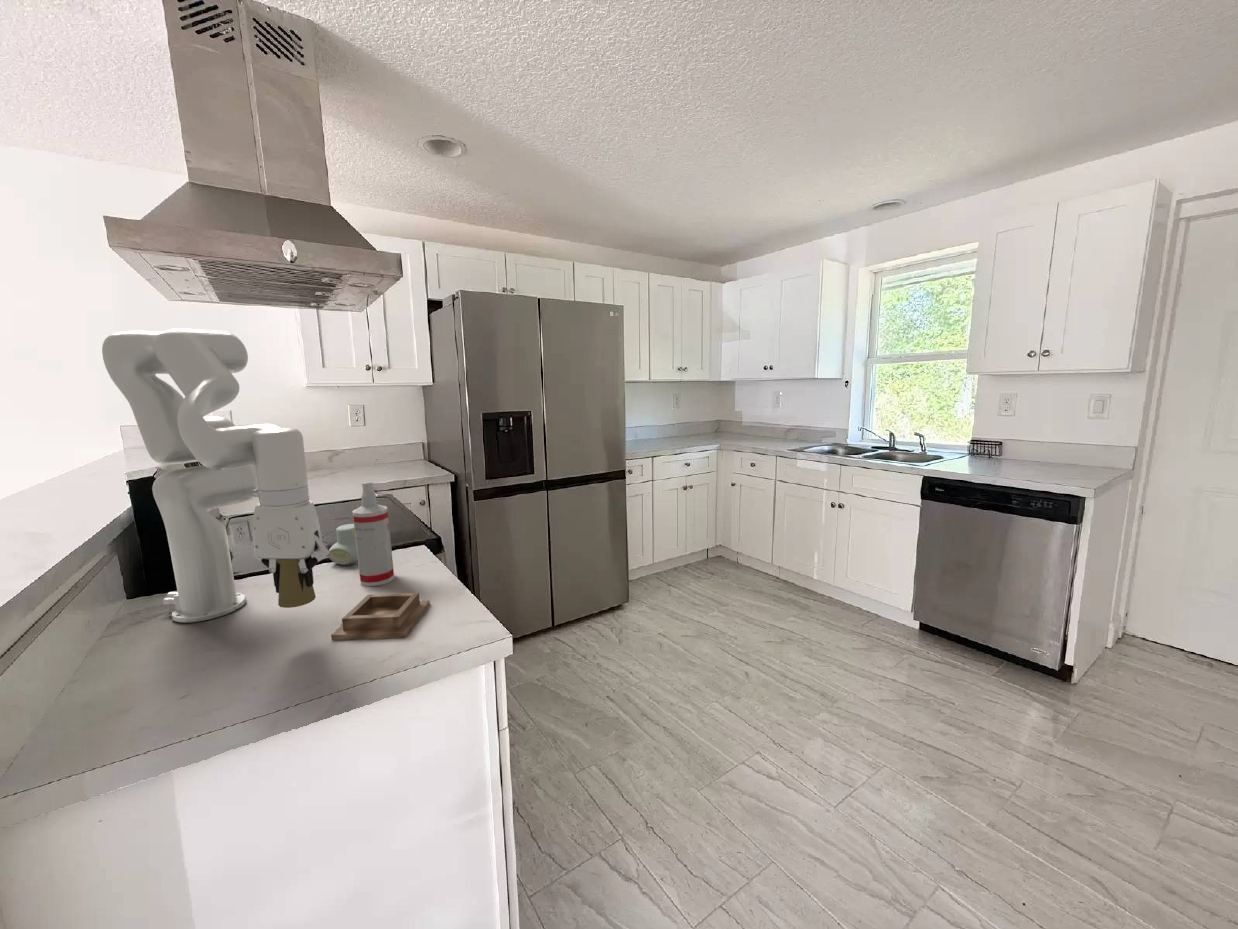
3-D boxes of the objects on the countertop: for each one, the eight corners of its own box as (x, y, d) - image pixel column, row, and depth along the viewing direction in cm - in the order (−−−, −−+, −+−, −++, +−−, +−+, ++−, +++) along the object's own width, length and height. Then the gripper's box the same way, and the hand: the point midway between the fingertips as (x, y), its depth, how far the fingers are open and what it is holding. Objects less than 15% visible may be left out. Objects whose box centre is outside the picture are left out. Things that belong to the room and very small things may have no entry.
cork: (297, 609, 90) (291, 552, 88) (269, 605, 91) (263, 549, 89) (323, 595, 96) (318, 541, 94) (296, 591, 97) (291, 538, 95)
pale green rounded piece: (323, 565, 134) (319, 530, 132) (347, 554, 142) (343, 521, 140) (357, 568, 131) (353, 532, 130) (379, 557, 139) (375, 523, 138)
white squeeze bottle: (353, 583, 121) (341, 484, 117) (378, 572, 128) (368, 478, 124) (376, 588, 118) (366, 486, 114) (401, 576, 125) (391, 480, 121)
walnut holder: (331, 639, 95) (329, 623, 94) (365, 606, 109) (363, 591, 108) (405, 637, 95) (403, 620, 95) (429, 604, 109) (428, 589, 109)
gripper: (222, 501, 86) (235, 599, 89) (319, 502, 87) (329, 599, 90) (251, 490, 93) (263, 581, 97) (341, 491, 94) (349, 581, 97)
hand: (294, 589), depth 93 cm, fingers closed on cork, 3 cm apart
